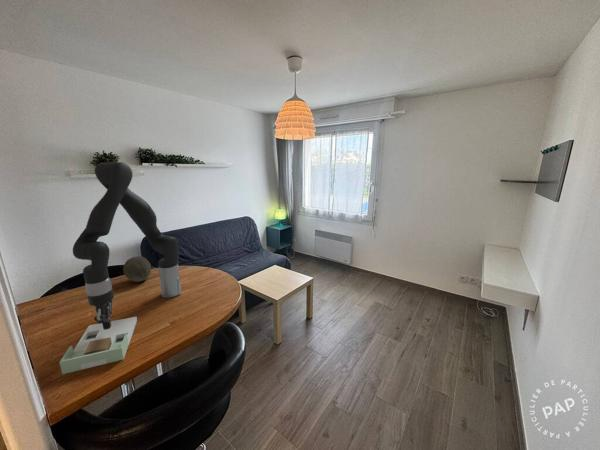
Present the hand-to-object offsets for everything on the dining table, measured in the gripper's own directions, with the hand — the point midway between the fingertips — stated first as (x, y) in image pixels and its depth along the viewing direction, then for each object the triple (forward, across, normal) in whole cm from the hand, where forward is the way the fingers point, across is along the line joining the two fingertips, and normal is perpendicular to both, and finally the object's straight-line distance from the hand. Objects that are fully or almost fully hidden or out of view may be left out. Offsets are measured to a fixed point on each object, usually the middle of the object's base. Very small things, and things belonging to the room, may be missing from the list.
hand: (107, 328), depth 95 cm
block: (+2, -10, 0) cm, 11 cm away
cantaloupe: (+5, +52, -2) cm, 52 cm away
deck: (+4, -4, 0) cm, 6 cm away
